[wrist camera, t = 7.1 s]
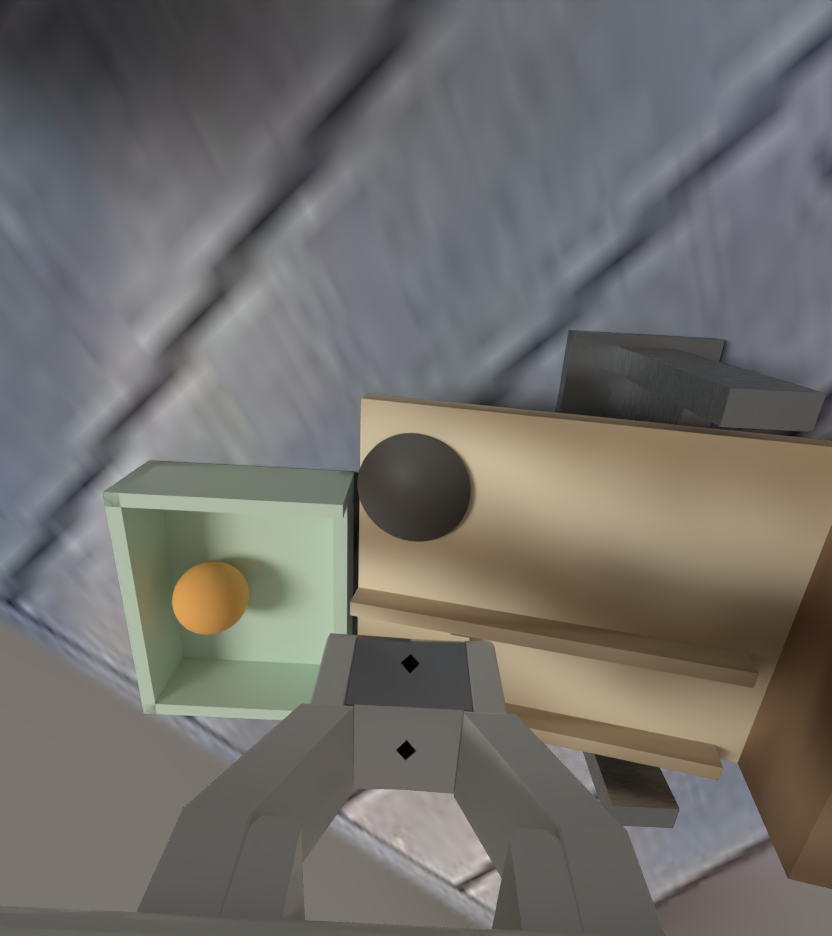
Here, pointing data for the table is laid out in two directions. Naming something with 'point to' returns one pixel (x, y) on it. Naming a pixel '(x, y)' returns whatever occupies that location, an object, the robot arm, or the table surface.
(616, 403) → the stand
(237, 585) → the ball
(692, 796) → the table surface
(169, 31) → the table surface
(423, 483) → the lever
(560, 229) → the table surface
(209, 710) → the tray
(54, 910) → the robot arm
